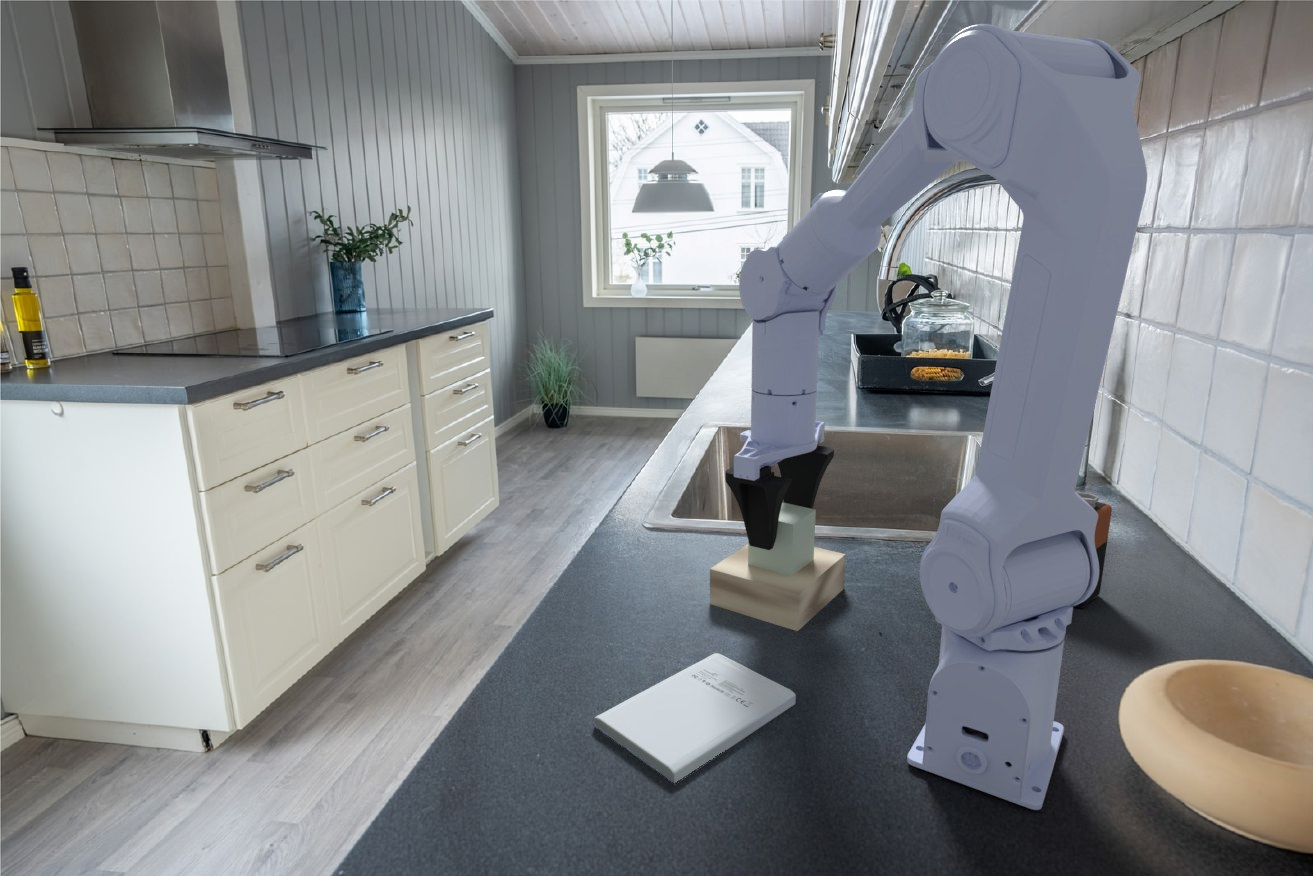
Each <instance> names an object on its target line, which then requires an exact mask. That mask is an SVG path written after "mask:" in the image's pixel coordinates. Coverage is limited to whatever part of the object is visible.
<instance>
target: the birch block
mask: <svg viewBox="0 0 1313 876" xmlns="http://www.w3.org/2000/svg"><path fill="white" fill-rule="evenodd" d="M846 555H847V554H846V553H842V552H838V551H834V550H830V549H826V548H823V547H822V548H821V547H817V546H814V560H812V561H811V562H810V563H808V564H807V565H806V566H804V567H803V568H802V569H801V570H799V571H798V572H797V573H795V574H794V575H793V576H788V575H784V574H780V573H777V572H773V571H770V570H766V569H762V568H759V567H755V566H752V565H748V543H746V544H745V545H744V546H742V547H741V548H740V549H738V550H736V551H734V552H733V553H732V554H730V555H728V556H727V557H725V558H724V559H723V560H721V561H719V562H718V563H717V564H715V565H714V566H712V567H711V568H709V604H710V605H712V606H716V607H719V608H721V609H724V610H727V611H731V612H734V613H738V614H740V615H743V616H747V617H750V618H753V619H757V620H760V621H763V622H767V623H769V624H773V625H777V626H779V627H783V628H785V629H790V630H793V631H795V632H798V631H799V630H800V629H802V628H804V626H805V625H806V624H808V622H809V621H811V620H812V619H813V618H814V617H815V616H816V615H817V614H818V613H819V612H821V610H823V609H824V608H825V607H826V606H827V605H828V604H829V603H830V602H831V601H832V600H833V599H835V598H836V597H837V596H838V594H840V593H841V592H842V591H843V590H844V589H845V576H846V575H845V573H846V572H845V571H846Z"/></svg>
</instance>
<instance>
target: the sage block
mask: <svg viewBox="0 0 1313 876" xmlns="http://www.w3.org/2000/svg"><path fill="white" fill-rule="evenodd" d="M816 511H817V509H814V508H813V509H810V508H806V507H801V506H797V505H792V504H787V503H784V502H783V503H782V506H781V510H780V514H779V521H778V529H777V536H776V540H775V544H774V547H773V548H772V549H771V550H766V549H761V548H757V547H753V546H750V544H749V540H748V539H747V541H748V543H747V544H748V565H752V566H755V567H759V568H762V569H766V570H770V571H773V572H777V573H780V574H784V575H788V576H793V575H794V574H795V573H797V572H798V571H799V570H801V569H802V568H803V567H804V566H806V565H807V564H808V563H810V562H811V561H812V560H814V547H815V539H816V538H815V537H816V536H815V535H816V517H817V516H816V515H817V513H816Z"/></svg>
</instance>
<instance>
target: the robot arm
mask: <svg viewBox="0 0 1313 876" xmlns="http://www.w3.org/2000/svg"><path fill="white" fill-rule="evenodd" d="M1141 80H1142V75H1141V73H1140V71H1138V70H1137V69H1136V68H1135V67H1134V66H1133V65H1132V64H1131V63H1130V62H1129V61H1128V60H1127V59H1126V58H1125V57H1124V56H1122V55H1121V54H1120V52H1118V50H1116V49H1115V47H1113V46H1111V45H1110V44H1109V43H1108V42H1106V41H1103V40H1101V39H1097V38H1091V37H1078V38H1072V37H1064V36H1058V35H1057V36H1055V35H1049V34H1039V33H1033V32H1024V31H1017V30H1011V29H1005V28H1004V29H1003V28H1002V27H1001V26H998V25H994V24H989V23H979V24H973V25H970V26H968V27H965V28H963V29H961V30H959V32H957V33H955V34H954V35H953V36H952V37H951V38H950V39H948V41H947V42H946V43H945V44H944V46H943V47H942V48H941V49H940V51H939V52H938V53H937V55H936V57H935V59H934V61H933V62H932V63H930V65H928V66H927V67H925V68H924V70H922V72H921V73H919V75H918V76H917V78H916V81H915V84H914V92H913V100H912V101H913V102H912V108H911V109H910V111H908V113H907V114H906V116H904V118H903V119H902V121H901V122H900V123H898V126H897V127H896V128H895V129H894V131H893V132H892V134H891V135H890V136H889V137H888V139H887V140H885V142H884V143H883V144H882V145H881V147H880V149H879V150H878V151H877V152H876V153H875V155H874V156H873V157H872V158H871V159H870V161H869V162H868V163H867V165H866V166H865V168H864V169H863V170H862V171H861V172H860V173H859V174H858V176H857V177H856V179H855V180H854V181H853V182H852V184H851V185H850V186H849V187H848V189H847V190H846V189H845V190H844V189H833V190H829V191H828V192H820V193H818V194H817V195H816V196H815V197H814V198H813V200H811V207H810V209H808V211H807V212H806V213H805V214H804V215H803V216H802V217H801V219H800V220H799V221H798V222H797V223H796V224H795V225H794V226H793V227H792V228H791V229H790V230H789V231H788V232H787V233H785V235H784V236H783V237H782V239H781V240H780V242H779V243H778V244H777V245H775V246H769V248H768V249H767V248H756V249H754V250H752V251H750V252H749V254H748V256H747V258H746V259H745V260H744V262H743V264H742V267H741V270H740V275H739V281H738V285H739V287H738V291H739V296H740V301H741V305H742V307H743V309H744V311H745V312H746V314H747V315H748V316H749V317H750V318H751V319H752V320H751V321H752V324H751V325H752V326H751V327H752V332H751V333H752V337H751V341H752V342H751V387H750V388H751V400H750V402H751V403H750V429H748V430H745V431H743V432H740V433H739V441H740V442H742V443H743V442H744V445H743V446H742V447H741V450H740V451H739V452H737V453H736V454H734V455H733V466H731V467H729V468H728V469H726V470H725V478H724V479H725V483H726V484H727V486H728V488H729V489H730V491H731V492H732V494H733V496H734V498H735V499H736V502H737V505H738V507H739V510H740V512H741V516H742V519H743V520H742V521H743V523H744V527H745V531H746V536H747V541H748V540H749V544H750V546H753V547H757V548H761V549H766V550H771V549H772V548H773V547H774V544H775V540H776V536H777V529H778V521H779V514H780V510H781V506H782V503H787V504H792V505H797V506H801V507H806V508H810V509H814V504H815V501H816V497H817V494H818V490H819V487H820V485H821V482H822V479H823V476H824V474H825V472H826V470H827V468H828V466H829V465H830V463H831V462H832V460H833V459H834V456H835V449H834V448H833V447H830V446H824V445H819V444H821V443H823V442H825V425H826V424H825V422H824V421H817V393H818V366H819V365H818V364H819V343H820V342H819V341H820V340H819V339H820V338H821V337H822V336H823V335H824V331H826V322H827V321H826V320H827V316H828V312H829V310H830V309H831V307H832V305H833V303H834V301H835V297H836V292H837V285H838V284H839V283H840V282H841V281H842V280H844V279H845V278H846V277H847V276H848V275H849V274H850V273H852V272H853V271H854V270H855V269H856V268H857V267H858V266H859V265H860V264H861V263H863V262H864V260H865V259H867V258H869V256H870V255H871V254H872V253H874V252H875V251H876V250H877V249H878V247H879V245H880V242H881V239H882V224H883V223H884V222H885V221H886V220H888V219H889V218H890V217H892V216H893V215H894V214H895V213H896V212H897V211H899V210H900V209H901V208H902V207H904V206H905V205H906V204H908V203H909V202H910V201H911V200H912V199H913V198H915V197H916V196H917V195H918V194H920V193H921V192H922V191H924V190H925V189H926V188H928V186H930V185H931V184H932V183H933V182H935V180H937V179H938V178H940V177H941V175H943V174H944V173H946V171H948V170H949V169H951V168H952V167H953V166H954V165H956V164H957V163H959V162H967V163H968V164H970V165H972V166H974V167H976V168H977V169H978V170H981V171H982V172H984V173H986V174H987V175H989V176H991V177H993V178H994V179H995V181H997V182H998V183H999V185H1000V186H1001V188H1002V189H1003V190H1004V191H1005V192H1006V193H1007V194H1008V195H1009V197H1010V199H1012V201H1014V203H1015V204H1016V206H1017V207H1018V208H1019V209H1020V210H1021V212H1022V214H1023V216H1022V217H1023V219H1022V224H1021V230H1020V236H1019V241H1018V245H1017V251H1016V257H1015V261H1014V262H1015V263H1014V268H1013V272H1012V278H1011V283H1010V290H1009V294H1008V299H1007V306H1006V309H1005V315H1004V321H1003V326H1002V332H1001V336H1000V341H999V346H998V347H999V348H998V352H997V358H996V364H995V368H994V369H995V370H994V375H993V380H992V385H991V390H990V396H989V401H988V408H987V412H986V417H985V422H984V429H983V433H982V437H981V444H980V448H979V449H980V450H979V455H978V460H977V463H976V465H977V466H976V470H975V475H974V476H973V478H971V480H970V481H968V482H967V484H966V485H965V486H964V487H963V488H962V489H961V490H960V491H959V492H958V493H957V494H956V495H955V496H954V497H953V498H952V499H951V500H950V501H949V503H947V504H946V506H945V507H944V508H943V509H942V511H941V513H940V518H939V519H940V520H939V524H938V528H937V531H936V533H935V536H934V537H933V539H932V540H931V541H930V542H929V543H928V545H927V546H926V548H925V549H924V551H923V553H922V556H921V558H920V564H919V581H920V582H919V583H920V587H921V591H922V594H923V597H924V600H925V602H926V604H927V606H928V607H929V609H930V611H931V612H932V614H933V615H934V620H935V621H936V623H938V624H940V625H941V635H940V637H941V638H940V647H939V657H938V658H939V659H938V666H937V668H936V669H935V671H934V673H933V675H932V677H931V680H930V683H929V686H928V691H927V703H926V704H927V705H926V716H925V723H924V725H923V727H922V728H921V731H920V732H919V733H918V736H917V737H916V739H915V740H914V743H913V744H912V746H911V748H910V750H909V751H908V753H907V756H906V757H907V758H906V761H907V763H908V764H909V765H911V766H912V767H915V768H917V769H921V770H924V771H926V772H929V773H932V774H934V775H937V776H939V777H942V778H945V779H948V780H950V781H952V782H956V783H957V784H958V783H959V784H961V785H963V786H967V787H969V788H972V789H975V790H978V791H980V792H984V793H986V794H989V795H992V796H995V797H997V798H999V799H1003V800H1005V801H1007V802H1011V803H1014V804H1016V805H1019V806H1022V807H1025V808H1027V809H1030V810H1033V811H1039V810H1041V809H1042V807H1043V804H1044V801H1045V798H1046V794H1047V791H1048V787H1049V784H1050V782H1051V781H1050V780H1051V777H1052V774H1053V770H1054V766H1055V763H1056V759H1057V756H1058V752H1059V750H1060V746H1061V743H1062V739H1063V735H1064V732H1065V727H1064V725H1063V724H1062V723H1060V722H1058V721H1055V714H1056V705H1057V697H1058V691H1059V690H1058V689H1059V683H1060V674H1061V669H1062V660H1063V654H1064V653H1063V652H1064V646H1065V638H1066V637H1065V636H1066V632H1067V631H1066V630H1067V626H1069V625H1070V624H1072V617H1073V611H1074V607H1075V605H1078V604H1080V603H1082V602H1084V601H1085V600H1086V599H1088V598H1089V597H1090V596H1091V594H1092V593H1093V592H1094V590H1095V588H1096V586H1097V583H1098V579H1099V561H1098V557H1097V552H1096V548H1095V540H1094V539H1095V529H1096V524H1097V520H1098V513H1097V512H1096V511H1095V510H1094V509H1093V508H1092V507H1091V506H1090V505H1089V504H1088V503H1087V502H1086V501H1085V500H1084V499H1083V498H1082V497H1081V496H1080V495H1078V494H1077V493H1076V492H1077V491H1076V486H1077V483H1078V479H1079V474H1080V470H1081V468H1082V467H1081V466H1082V462H1083V458H1084V453H1085V450H1086V449H1085V448H1086V445H1087V441H1088V437H1089V432H1090V428H1091V424H1092V421H1093V420H1092V419H1093V416H1094V412H1095V407H1096V403H1097V399H1098V394H1099V391H1100V390H1099V389H1100V387H1101V386H1100V385H1101V382H1102V377H1103V374H1104V369H1105V365H1106V361H1107V357H1108V352H1109V348H1110V344H1111V339H1112V336H1113V332H1114V326H1115V322H1116V319H1117V314H1118V310H1119V306H1120V302H1121V299H1122V298H1121V297H1122V293H1123V289H1124V285H1125V281H1126V276H1127V271H1128V268H1129V264H1130V259H1131V255H1132V251H1133V246H1134V242H1135V238H1136V234H1137V229H1138V225H1139V221H1140V217H1141V213H1142V209H1143V204H1144V200H1145V196H1146V192H1147V184H1148V183H1147V182H1148V170H1147V165H1146V160H1145V157H1144V151H1143V147H1142V142H1141V138H1140V133H1139V129H1138V123H1137V119H1136V114H1135V111H1134V110H1135V106H1136V102H1137V97H1138V93H1139V89H1140V83H1141ZM775 464H777V467H778V468H779V473H780V476H777V475H775V472H774V471H772V466H774V465H775Z"/></svg>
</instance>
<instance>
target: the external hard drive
mask: <svg viewBox="0 0 1313 876" xmlns="http://www.w3.org/2000/svg"><path fill="white" fill-rule="evenodd" d="M796 696H797V694H796V693H795V692H794V691H793V690H792V689H790V688H788V687H786V686H784V685H781V683H778V682H777V681H774V680H771V679H770V678H768V677H766V676H764V675H762V674H760V673H758V672H756V671H754V670H752V669H751V668H748V667H746V666H745V665H743V664H741V663H739V662H737V661H734V660H733V659H731V658H728V657H727V656H725V655H723V654H721V653H718V652H714V653H712V654H711V655H709V656H707V657H705V658H704V659H702V660H700V661H698V662H696V663H694V664H692V665H690V666H688V667H686V668H685V669H683V670H680V671H678V672H677V673H675V674H673V675H671V676H670V677H667V678H665V679H663V680H661V681H660V682H658V683H656V684H655V685H652V686H650V687H648V688H647V689H645V690H643V691H641V692H639V693H637V694H635V695H634V696H631V697H630V698H628V699H626V700H624V701H622V702H620V703H619V704H617V705H616V706H613V707H611V708H609V709H608V710H606V711H604V712H602V713H600V714H598V715H596V716H595V717H593V719H594V721H593V722H594V723H593V724H594V725H595V724H596V725H598V727H599V728H602V730H604V732H606V733H608V735H610V736H611V737H613V738H614V739H615V740H617V742H620V743H621V744H623V745H624V746H626V747H627V748H629V749H630V750H631V751H633V752H635V754H637V755H639V756H640V757H641V758H642V759H644V760H645V761H646V762H648V763H649V764H651V765H652V766H653V767H654V768H656V769H658V770H659V771H660V772H662V774H664V775H665V776H666V777H668V778H669V779H670V780H672V781H673V782H674V783H675V782H677V781H678V780H680V779H682V778H683V777H684V776H686V775H688V774H689V773H691V772H692V771H694V770H695V769H697V768H699V766H701V765H703V764H705V763H706V762H708V761H709V760H711V761H712V760H714V759H715V758H716V757H715V756H717V755H718V756H720V755H721V754H723V753H724V752H726V751H727V750H729V749H730V748H732V747H733V746H735V745H737V744H738V743H739V742H741V741H742V740H744V739H745V738H746V737H748V736H749V735H751V734H753V733H754V732H756V731H757V730H758V729H760V728H762V727H763V726H764V725H766V724H768V723H769V722H771V721H773V719H776V718H777V717H778V716H779V715H781V714H782V713H784V712H786V711H787V710H788V709H790V708H791V707H793V706H795V705H796V698H797V697H796ZM725 750H726V751H725ZM722 752H723V753H722ZM720 753H721V754H720ZM719 754H720V755H719ZM718 756H717V757H718ZM713 758H714V759H713ZM709 762H710V761H709ZM709 762H708V763H709ZM706 764H707V763H706ZM706 764H705V765H706ZM703 766H704V765H703ZM699 769H700V768H699ZM697 770H698V769H697ZM682 780H683V779H682Z"/></svg>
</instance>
